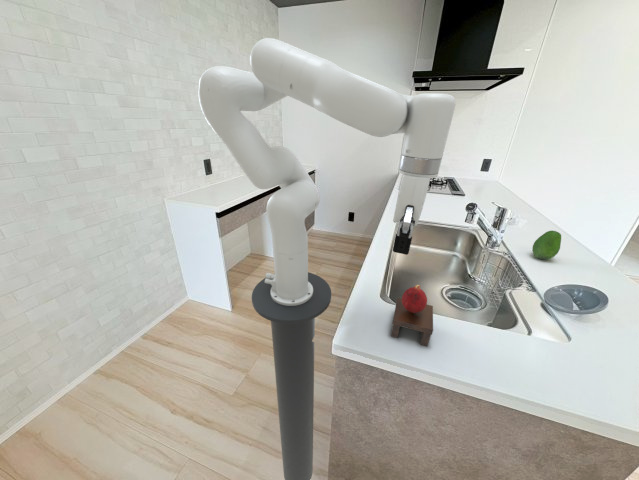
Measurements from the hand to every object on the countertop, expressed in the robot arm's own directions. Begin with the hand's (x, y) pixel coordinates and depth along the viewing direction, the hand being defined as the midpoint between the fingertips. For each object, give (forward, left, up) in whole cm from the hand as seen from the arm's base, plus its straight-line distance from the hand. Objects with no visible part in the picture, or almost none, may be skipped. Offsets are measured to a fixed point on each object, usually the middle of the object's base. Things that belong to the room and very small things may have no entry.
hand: (402, 243), depth 58 cm
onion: (+5, 0, -19) cm, 19 cm away
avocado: (+52, +59, -24) cm, 82 cm away
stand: (+6, 0, -24) cm, 24 cm away
